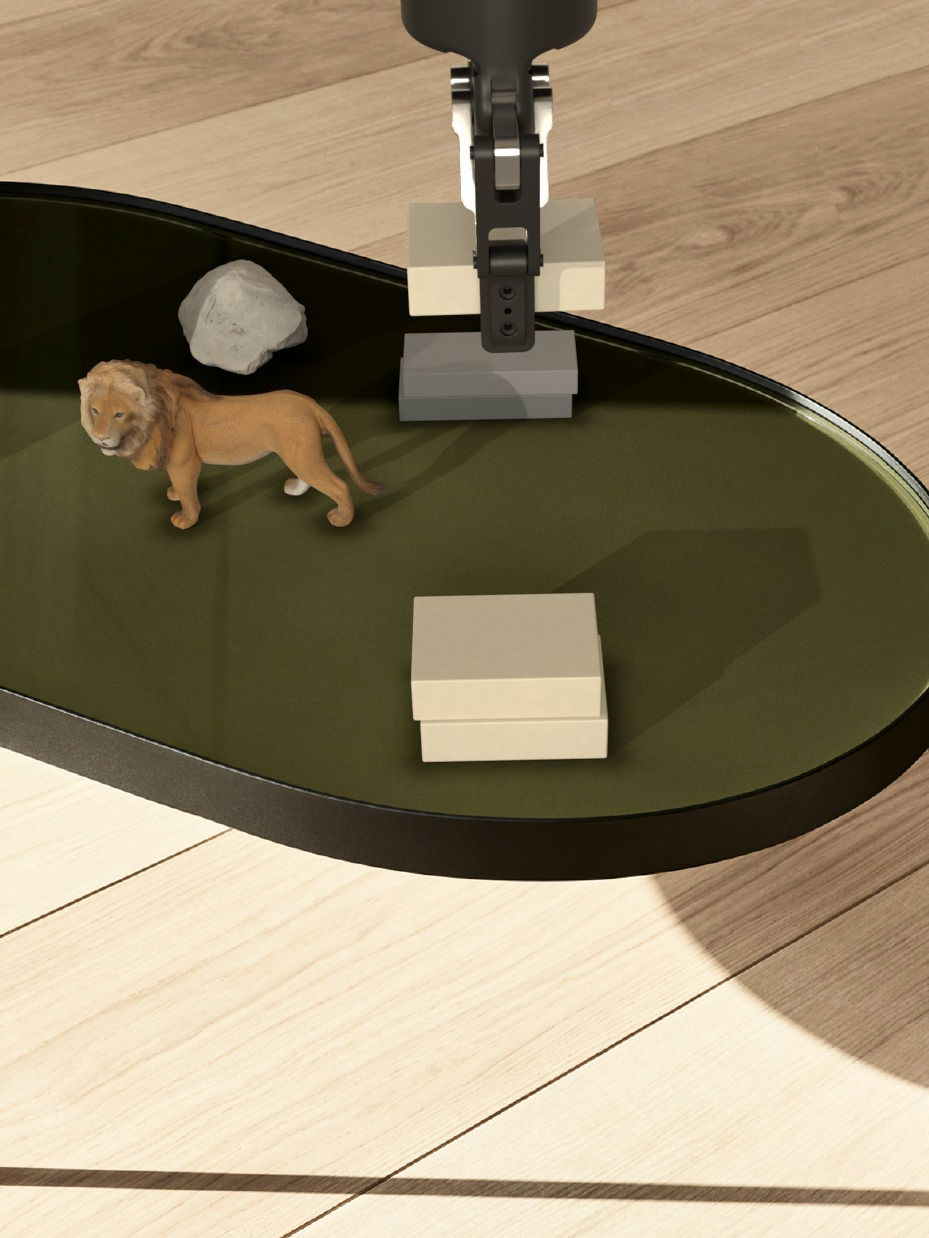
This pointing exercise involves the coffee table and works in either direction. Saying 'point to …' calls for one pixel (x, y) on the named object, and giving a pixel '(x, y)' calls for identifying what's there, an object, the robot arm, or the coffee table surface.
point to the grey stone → (240, 317)
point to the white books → (508, 677)
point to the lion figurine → (212, 433)
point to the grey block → (486, 378)
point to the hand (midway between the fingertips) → (505, 309)
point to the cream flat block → (449, 238)
